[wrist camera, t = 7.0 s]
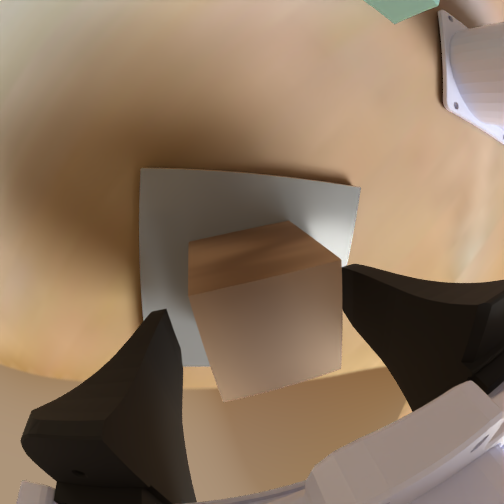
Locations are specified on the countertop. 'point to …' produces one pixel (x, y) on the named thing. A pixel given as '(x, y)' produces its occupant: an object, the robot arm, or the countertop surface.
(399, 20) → the teal block
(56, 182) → the countertop surface
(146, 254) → the slate pad
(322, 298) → the walnut block
